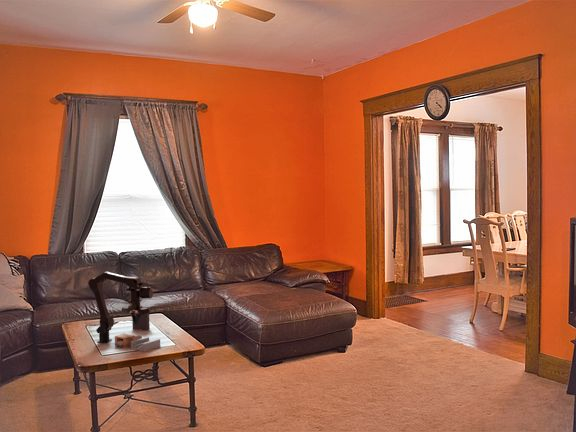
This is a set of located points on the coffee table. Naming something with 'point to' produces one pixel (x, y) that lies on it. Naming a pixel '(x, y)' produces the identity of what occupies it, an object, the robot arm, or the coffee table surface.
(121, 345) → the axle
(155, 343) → the v block
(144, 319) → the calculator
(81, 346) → the coffee table surface
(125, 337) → the orange brown notched block
